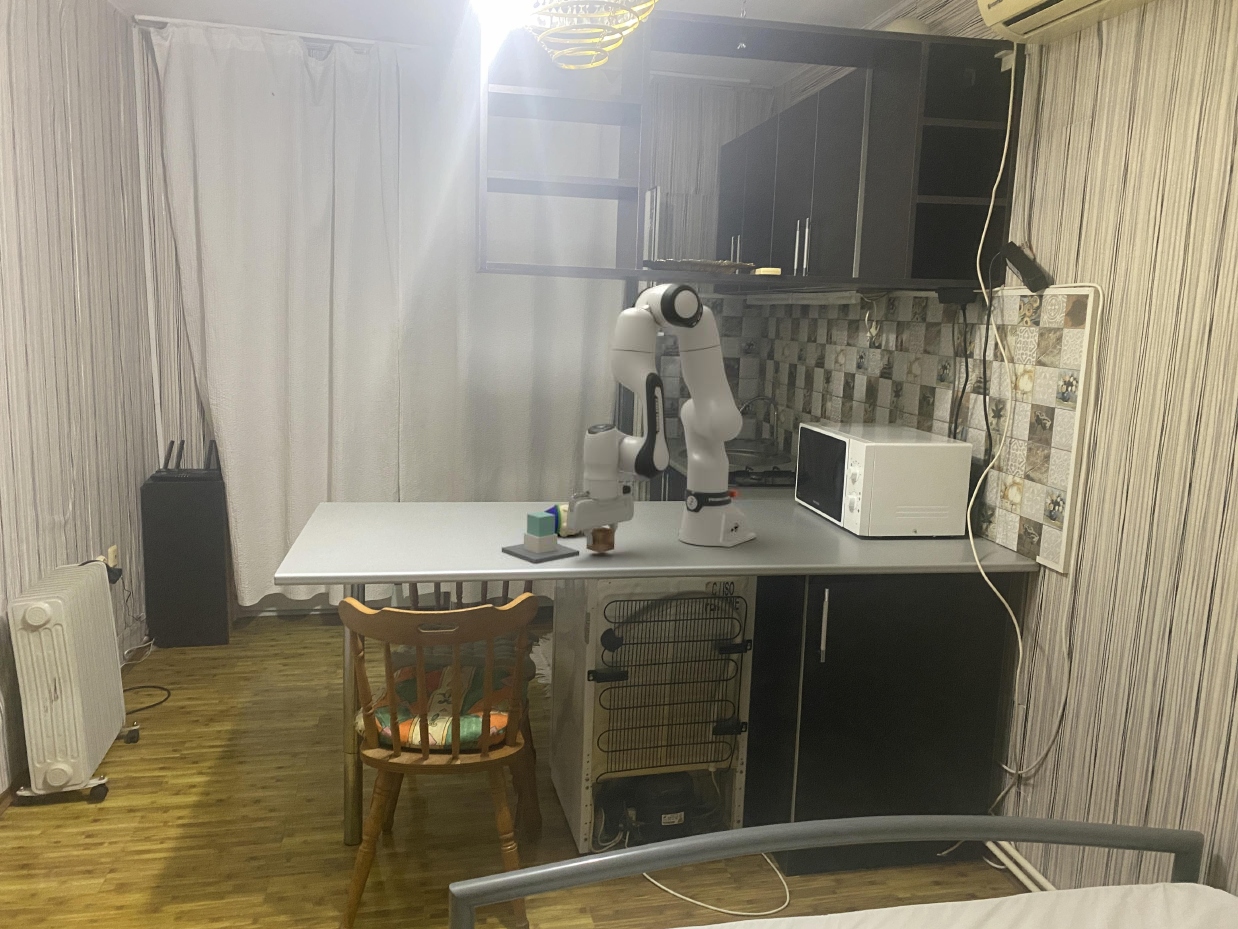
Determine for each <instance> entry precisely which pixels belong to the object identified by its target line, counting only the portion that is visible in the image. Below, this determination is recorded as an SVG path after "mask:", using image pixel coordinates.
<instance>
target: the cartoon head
mask: <svg viewBox="0 0 1238 929" xmlns="http://www.w3.org/2000/svg"><path fill="white" fill-rule="evenodd" d="M568 506H569V504H562V505H559V504H554V505H553V506H552V507H550V508H548V509H546V510H544V511H543V512H546V513H549V514H553V515H555V534H557V536H558V535H559V536H560V537H562V538H566V537H568V536H574V535H576V534H579V533H580V534H581V533H583V530H582V531H577V532H576V531H572V530H569V529H568V527H567V526H566V521H567V511H568ZM596 528H597V527H596Z"/></svg>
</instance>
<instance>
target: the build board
mask: <svg viewBox="0 0 1238 929" xmlns="http://www.w3.org/2000/svg"><path fill="white" fill-rule="evenodd" d="M501 552H502V553H505V554H508V555H510V556H513V557H516V558H519V559H521V560H525V561H526V560H527V561H526V562H529V561H530V563H532V562H533V563H532V564H540V563H543V561H545V562H550V561H555V560H559V559H560V558H561V559H565V557H566V558H570V557H575V555H576V556H579V555H580V550H578V549H576V548H575V549H574V548H572V547H568V546H566V545H563V544H560V543H558V535H557V534H555V535H549V536H543V537H537V536H534V535H531V534H528V533H527V532H523V543H521V544H515V545H514V544H513V545H509V546H503V547H502V546H501ZM549 560H550V561H549ZM539 562H540V563H539Z"/></svg>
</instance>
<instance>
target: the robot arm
mask: <svg viewBox="0 0 1238 929" xmlns="http://www.w3.org/2000/svg"><path fill="white" fill-rule="evenodd" d="M668 328H669V329H670V328H672V329H673V331H674V332H675V335H676V338H677V346H678V351H679V352H678V353H679V357H680V358H679V360H680V364H681V365H680V366H681V373H682V378H683V381H684V383H685V385H686V386H687V389H688V392H689V394H690V397H691V398H690V399H688V400H686V401H685V403H683V405H682V407H681V409H680V420H681V422H682V425H683V430H684V438H685V447H686V448H685V449H686V453H687V454H686V456H687V475H686V478H687V479H686V484H687V485H686V487H685V491H684V501H685V505H684V507H683V513H682V519H681V526H680V529H679V530H678V534H679V535H678V540H679V541H680V542H684V543H687V544H691V545H697V546H708V547H709V546H710V547H713V546H714V547H715V546H716V547H725V548H729V547H730V548H731V547H733V546H737V545H739V544H742V543H745V542H747V541H750V540H753V539H756V533H754V532H753V531H749V530H748V518H747V516H746V515H745V513H743V512H742V511H741V510H740V509H739V508H737V507H736V506H735V505H734V504H733V502H732V498H734V499H736V498H738V496H739V492H738V491H737V490H734V489H730V490H729V489H728V485H729V467H730V462H729V458H728V456H727V453H726V447H725V442H729V441H731V440H733V439H735V438H736V437H737V436H739V434H740V433H741V430H742V428H743V415H742V413H741V412H740V410H739V409H738V407H737V404H736V403H735V399H734V397H733V396H734V395H733V393H732V390H731V387H730V385H729V382H728V379H727V375H726V370H725V365H724V359H723V358H724V357H723V353H722V352H723V351H722V346H721V338H720V334H719V330H718V326H717V323H716V319H715V317H714V313H713V311H712V310H711V308H710V307H708V306H706V305H703V303H702V302H701V298H700V296H699V294H698V292H697V291H696V289H695V288H693V286H691V285H688V284H684V283H677V282H675V283H661V284H659V285H656V286H648V287H647V288H644V289H642V290H640V291H639V292H638V293H637V295H636V296H635V298H634V300H633V302H632V305H631V306H630V307H629V308H626V309H624V310H622V311H621V313H619V315H618V317H617V321H616V323H615V330H614V333H613V339H612V346H611V355H610V356H611V358H610V367H611V372H612V375H613V376H614V378H615V379H616V381H617V382H619V383H620V385H622V386H623V387H624V388H626V389H629V390H630V391H631V392H633V393H634V394H635V395H636V396H637V397H638V399H639V401H640V402H641V406H642V421H643V422H642V424H643V425H642V426H643V437H640V436H634V435H629V434H626V433H625V432H622V431H620V430H619V429H617V427H616V426H615V425H614V424H612V423H599V424H594V425H591V426H589V428H587V430H586V431H585V435H584V443H583V460H582V461H583V465H584V472H583V477H582V478H583V480H582V482H583V484H582V485H583V487H582V488H583V490H582V491H583V492H579V493H578V492H577V493H574V494H573V495H572V496H570V498H569V499H568V505H569V506H568V511H567V521H566V526H567V527H568V529H569V530H572V531H576V532H577V531H582V530H583V531H582V533H583V534H584V536H585V538H586V546H587V545H590V546H591V545H595V538H593V537H592V535H591V533H592V532H593V528H596V527H605V526H608V527H609V528H608V529H612V530H615V533H616V532H617V530H618V527H619V524H620V523H624V522H629V521H631V520H632V519H633V518H634V515H635V502H634V496H633V495H632V494H633V493H634V485H631V484H628V483H625V482H624V483H623V482H622V481H620V480H619V472H621V473H624V474H629V475H636V476H639V477H642V478H645V479H649V480H656V479H657V478H659V477H660V476H661V475H663V473H664V472H665V471H667V468H668V467H669V465H670V460H671V455H670V449H669V443H668V438H667V419H666V399H665V398H666V397H665V387H664V382H663V380H662V378H661V376H660V375H659V374H658V371H657V367H656V348H657V347H656V346H657V345H656V344H657V342H656V341H657V337H658V335H659V332H660V331H661V330H662V329H668Z"/></svg>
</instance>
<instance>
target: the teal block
mask: <svg viewBox="0 0 1238 929" xmlns="http://www.w3.org/2000/svg"><path fill="white" fill-rule="evenodd" d="M526 521H527V522H526V533H528V534H531V535H534V536H537V537H543V536H549V535H555V515H553V514H549V513H546V512H544V511H539V512H538V511H537V512H532V513H527V515H526Z"/></svg>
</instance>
